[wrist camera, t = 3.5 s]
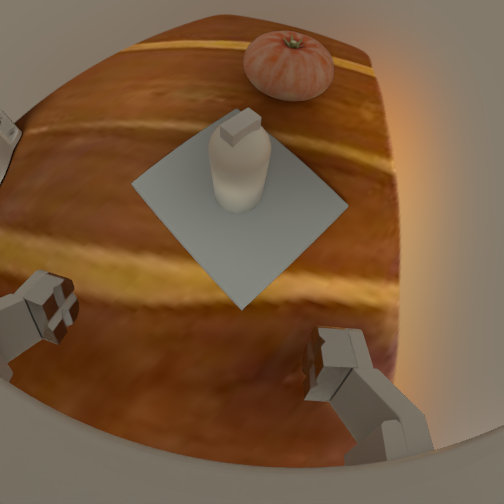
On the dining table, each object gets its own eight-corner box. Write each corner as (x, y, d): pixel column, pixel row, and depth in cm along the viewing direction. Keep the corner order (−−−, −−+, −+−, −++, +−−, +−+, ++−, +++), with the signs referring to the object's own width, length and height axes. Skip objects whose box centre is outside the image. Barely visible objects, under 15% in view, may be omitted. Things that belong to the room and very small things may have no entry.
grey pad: (134, 188, 26) (131, 183, 25) (236, 114, 29) (236, 108, 28) (241, 310, 24) (241, 309, 23) (345, 209, 27) (348, 205, 26)
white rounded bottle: (204, 190, 25) (190, 120, 16) (239, 162, 26) (243, 89, 17) (236, 222, 24) (238, 161, 15) (272, 192, 25) (291, 124, 16)
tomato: (310, 128, 29) (328, 78, 21) (226, 96, 30) (225, 44, 22) (334, 82, 32) (351, 39, 24) (263, 55, 32) (268, 11, 25)
